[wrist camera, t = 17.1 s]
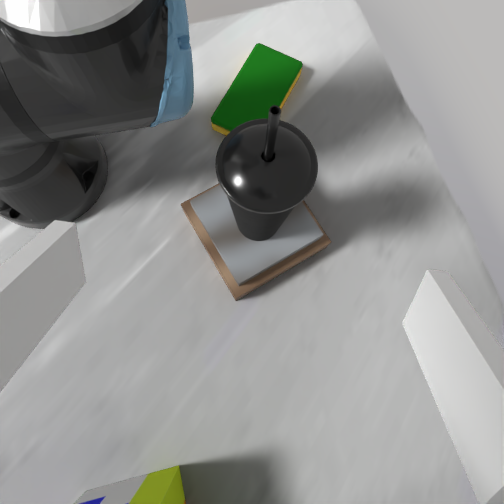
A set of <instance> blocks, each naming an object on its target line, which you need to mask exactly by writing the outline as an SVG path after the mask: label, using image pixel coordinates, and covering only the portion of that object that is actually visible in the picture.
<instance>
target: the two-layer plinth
mask: <svg viewBox="0 0 504 504" xmlns="http://www.w3.org/2000/svg"><path fill="white" fill-rule="evenodd" d="M181 206H182V208H183V210H184V213H185V214H186V216H187V218H188V219H189V221H190V223H191V225H192V226H193V228H194V230H195V231H196V233H197V235H198V237H199V238H200V240H201V242H202V243H203V245H204V247H205V249H206V250H207V252H208V254H209V256H210V257H211V259H212V261H213V262H214V264H215V266H216V268H217V269H218V271H219V273H220V274H221V276H222V278H223V280H224V281H225V283H226V285H227V286H228V288H229V290H230V292H231V293H232V295H233V297H234V299H235V300H236V301H237V300H238V299H240V298H242V297H243V296H245V295H247V294H249V293H250V292H252V291H254V290H255V289H257V288H259V287H260V286H262V285H264V284H265V283H267V282H269V281H271V280H272V279H274V278H276V277H277V276H279V275H281V274H282V273H284V272H286V271H287V270H289V269H291V268H292V267H294V266H296V265H298V264H299V263H301V262H303V261H304V260H306V259H308V258H309V257H311V256H313V255H314V254H316V253H318V252H319V251H321V250H323V249H325V248H326V247H327V246H328V245H329V244H330V243H331V241H330V239H329V238H328V236H327V235H326V233H325V232H324V230H323V229H322V227H321V226H320V224H319V223H318V221H317V220H316V218H315V216H314V215H313V213H312V212H311V210H310V209H309V207H308V206H307V204H306V203H305V201H304V200H303V201H302V202H301V203H299V204H298V205H297V206H295V207H294V209H293V210H292V211H291V213H290V214H289V215H288V217H287V218H286V219H285V221H284V222H283V224H282V225H281V226H280V228H279V229H278V230H277V232H276V233H275V234H274V235H273V236H272V237H271V238H269V239H267V240H264V241H253V240H250V239H248V238H246V237H245V236H244V235H243V234H242V233H241V232H240V230H239V229H238V226H237V223H236V220H235V217H234V214H233V211H232V209H231V206H230V203H229V200H228V197H227V195H226V194H225V193H224V191H223V190H222V188H221V186H220V184H217V185H215V186H213V187H212V188H210V189H208V190H206V191H204V192H202V193H200V194H198V195H197V196H195V197H193V198H191V199H189V200H187V201H185V202H183V203H182V204H181Z"/></svg>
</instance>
